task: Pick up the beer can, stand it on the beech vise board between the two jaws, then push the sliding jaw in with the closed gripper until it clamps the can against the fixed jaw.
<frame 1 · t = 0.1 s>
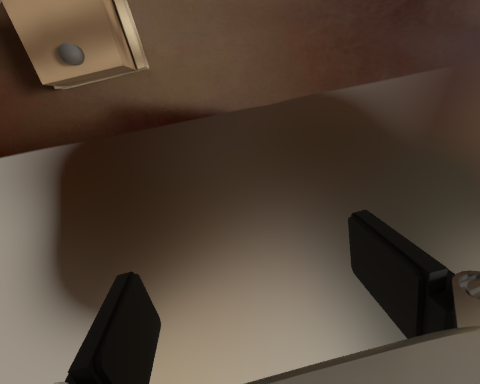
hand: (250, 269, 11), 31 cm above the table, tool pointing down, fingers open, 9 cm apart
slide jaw: (76, 39, 29), point 5 cm above the table, slide at 0.0 cm
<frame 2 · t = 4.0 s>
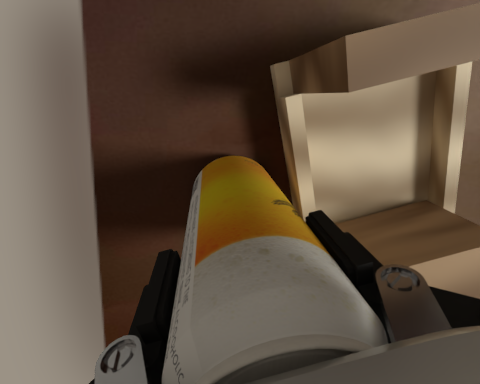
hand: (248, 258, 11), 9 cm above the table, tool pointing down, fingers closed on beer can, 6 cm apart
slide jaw: (403, 282, 18), point 5 cm above the table, slide at 0.0 cm
beer can: (232, 190, 20), on the table, touching gripper
vise base: (362, 183, 21), on the table
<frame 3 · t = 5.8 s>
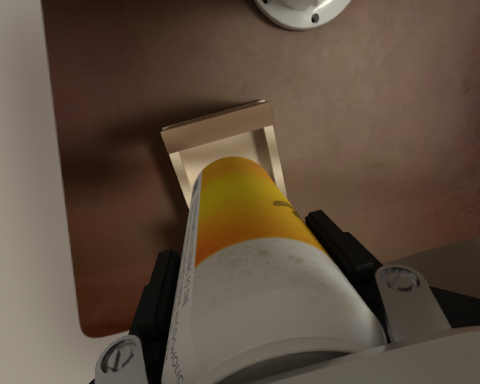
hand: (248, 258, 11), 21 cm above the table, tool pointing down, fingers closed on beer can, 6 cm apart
beer can: (232, 191, 20), point 12 cm above the table, touching gripper
vise base: (235, 192, 33), on the table
when the fingers open (11 cm above the table, at t = 8.0 s): beer can stays where it is, resting on vise base.
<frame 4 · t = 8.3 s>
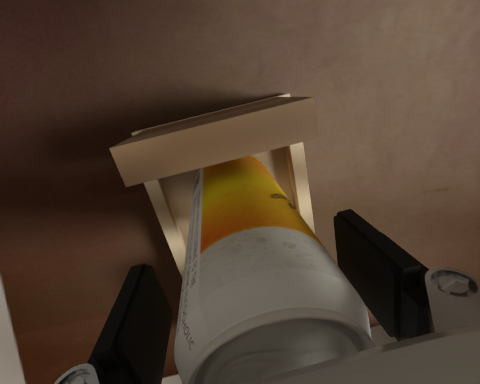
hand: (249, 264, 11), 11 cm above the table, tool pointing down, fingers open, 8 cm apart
beer can: (232, 184, 21), point 1 cm above the table, touching vise base
vise base: (240, 225, 23), on the table
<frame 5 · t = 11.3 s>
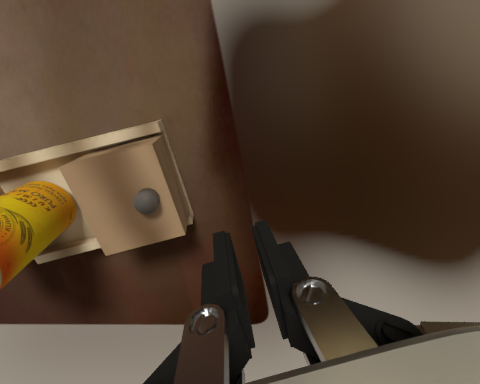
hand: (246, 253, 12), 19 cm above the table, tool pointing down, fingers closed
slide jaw: (134, 194, 25), point 5 cm above the table, slide at 0.0 cm
beer can: (51, 203, 28), point 1 cm above the table, touching vise base
vise base: (93, 192, 29), on the table
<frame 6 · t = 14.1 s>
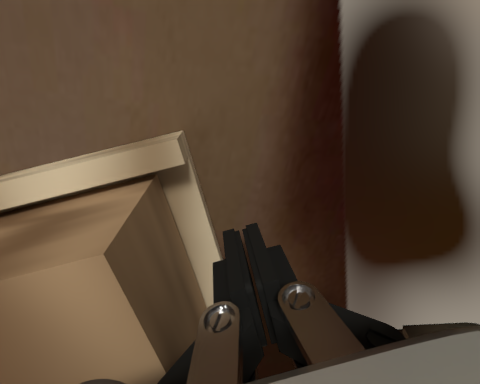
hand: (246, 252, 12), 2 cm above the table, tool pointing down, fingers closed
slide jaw: (75, 343, 9), point 5 cm above the table, slide at 1.5 cm, touching gripper
vise base: (34, 283, 14), on the table
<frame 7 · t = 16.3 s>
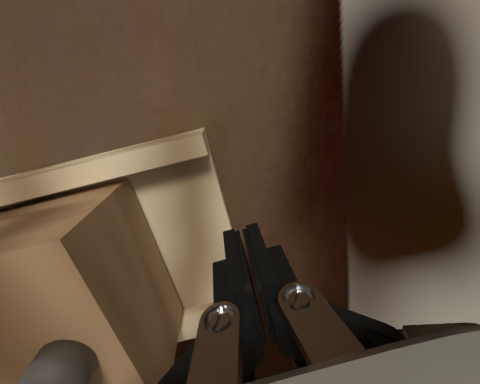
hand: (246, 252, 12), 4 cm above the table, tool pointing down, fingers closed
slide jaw: (54, 318, 11), point 5 cm above the table, slide at 4.4 cm
vise base: (73, 261, 16), on the table
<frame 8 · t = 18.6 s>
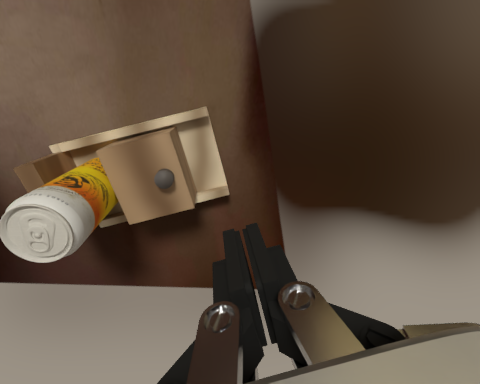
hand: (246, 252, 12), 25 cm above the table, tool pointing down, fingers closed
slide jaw: (152, 175, 30), point 5 cm above the table, slide at 4.4 cm
beer can: (107, 177, 34), point 1 cm above the table, touching vise base
vise base: (147, 168, 35), on the table
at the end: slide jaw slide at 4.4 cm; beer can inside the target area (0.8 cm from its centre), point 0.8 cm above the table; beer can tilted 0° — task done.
